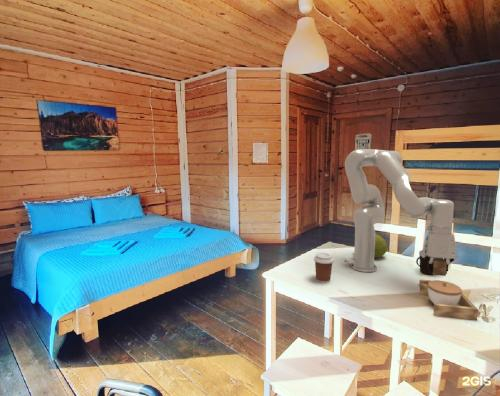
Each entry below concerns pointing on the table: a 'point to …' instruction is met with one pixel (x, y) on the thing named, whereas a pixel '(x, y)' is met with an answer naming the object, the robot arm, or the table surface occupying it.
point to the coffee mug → (423, 265)
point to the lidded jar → (444, 292)
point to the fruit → (380, 246)
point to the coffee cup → (323, 267)
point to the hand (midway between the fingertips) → (437, 271)
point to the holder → (451, 306)
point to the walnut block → (439, 266)
